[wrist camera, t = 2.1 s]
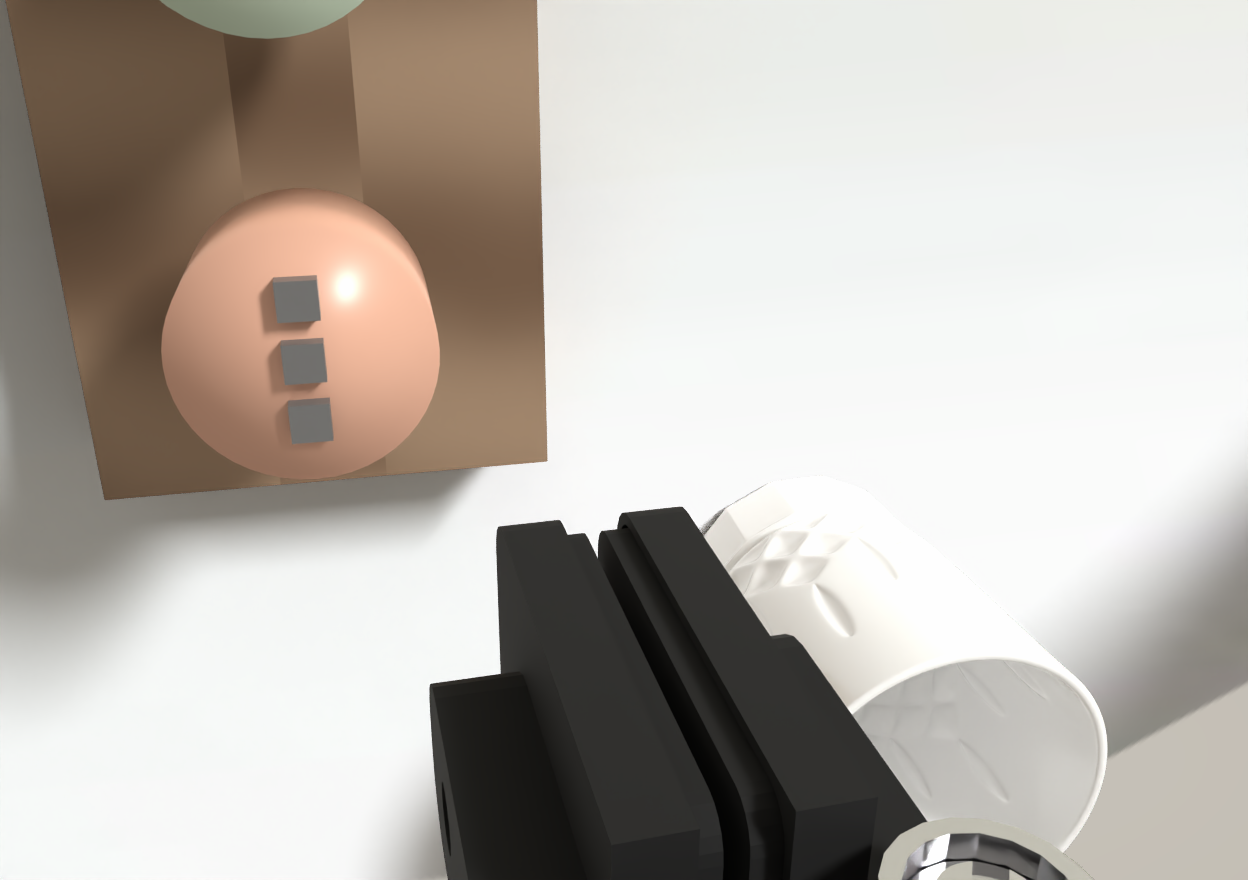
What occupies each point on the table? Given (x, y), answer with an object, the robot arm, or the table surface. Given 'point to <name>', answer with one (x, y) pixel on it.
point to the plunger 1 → (263, 15)
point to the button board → (282, 159)
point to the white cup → (919, 658)
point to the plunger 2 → (302, 336)
